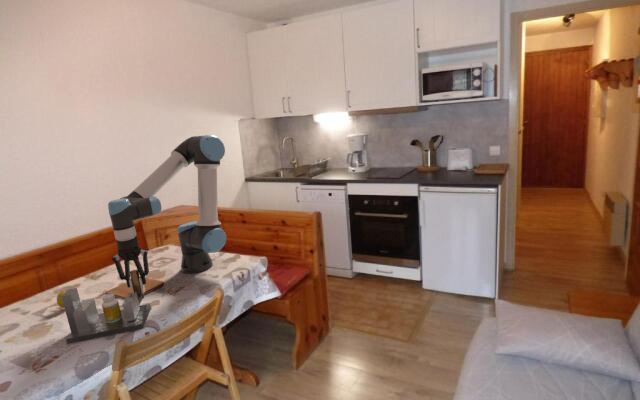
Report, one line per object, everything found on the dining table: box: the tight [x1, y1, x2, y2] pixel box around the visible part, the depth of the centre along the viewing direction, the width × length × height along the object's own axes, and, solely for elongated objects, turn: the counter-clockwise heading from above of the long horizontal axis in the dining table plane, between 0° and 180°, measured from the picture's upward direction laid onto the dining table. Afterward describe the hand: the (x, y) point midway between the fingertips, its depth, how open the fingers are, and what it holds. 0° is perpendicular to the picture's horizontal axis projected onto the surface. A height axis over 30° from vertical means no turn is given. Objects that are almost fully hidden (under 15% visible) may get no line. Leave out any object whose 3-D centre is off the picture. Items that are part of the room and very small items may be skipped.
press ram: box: [122, 269, 145, 322], centre depth 151 cm, size 3×19×13 cm, turn 13°
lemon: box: [56, 290, 67, 309], centre depth 165 cm, size 6×6×8 cm
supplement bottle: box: [101, 292, 122, 323], centre depth 146 cm, size 5×5×10 cm
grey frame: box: [61, 287, 152, 345], centre depth 145 cm, size 25×16×16 cm, turn 103°
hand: (138, 292), depth 160 cm, fingers closed on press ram, 3 cm apart
